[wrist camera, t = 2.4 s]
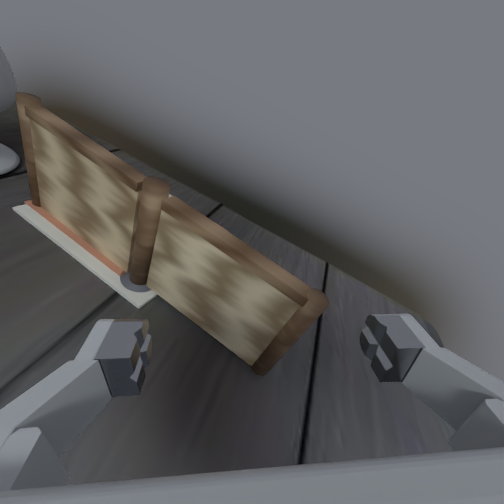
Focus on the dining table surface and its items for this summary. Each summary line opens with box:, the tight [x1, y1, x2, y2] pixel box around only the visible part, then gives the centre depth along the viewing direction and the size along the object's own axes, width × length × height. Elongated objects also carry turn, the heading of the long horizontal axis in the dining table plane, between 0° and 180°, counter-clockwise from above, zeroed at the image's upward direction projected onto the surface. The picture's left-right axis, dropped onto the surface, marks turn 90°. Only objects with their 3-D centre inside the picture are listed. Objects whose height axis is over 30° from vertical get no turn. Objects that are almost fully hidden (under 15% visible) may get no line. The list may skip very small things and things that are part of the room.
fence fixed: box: [15, 92, 171, 285], centre depth 29 cm, size 20×2×14 cm, turn 62°
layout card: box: [12, 194, 227, 309], centre depth 38 cm, size 22×22×1 cm
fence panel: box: [146, 196, 329, 376], centre depth 26 cm, size 17×2×12 cm, turn 62°
